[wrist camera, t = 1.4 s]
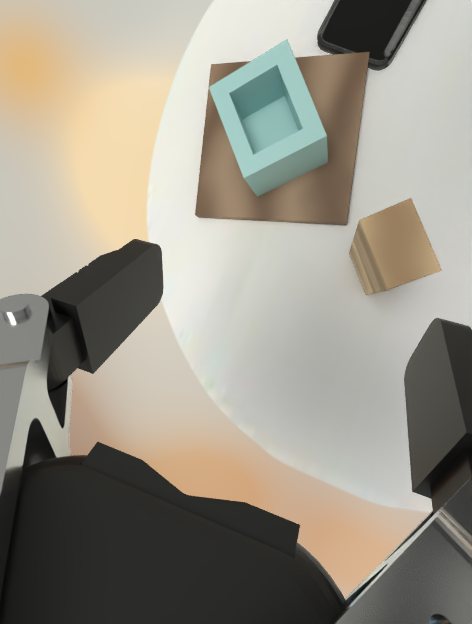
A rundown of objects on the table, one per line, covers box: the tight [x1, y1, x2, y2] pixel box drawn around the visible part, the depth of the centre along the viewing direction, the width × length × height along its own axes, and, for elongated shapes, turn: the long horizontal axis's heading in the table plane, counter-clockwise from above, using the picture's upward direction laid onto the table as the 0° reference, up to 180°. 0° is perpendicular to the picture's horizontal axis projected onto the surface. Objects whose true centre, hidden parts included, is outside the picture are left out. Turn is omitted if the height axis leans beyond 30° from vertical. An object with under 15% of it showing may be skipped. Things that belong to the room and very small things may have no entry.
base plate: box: [195, 52, 370, 225], centre depth 35 cm, size 16×16×1 cm
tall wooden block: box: [349, 198, 441, 295], centre depth 26 cm, size 3×4×14 cm, turn 21°
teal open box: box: [209, 40, 328, 197], centre depth 32 cm, size 8×9×6 cm
